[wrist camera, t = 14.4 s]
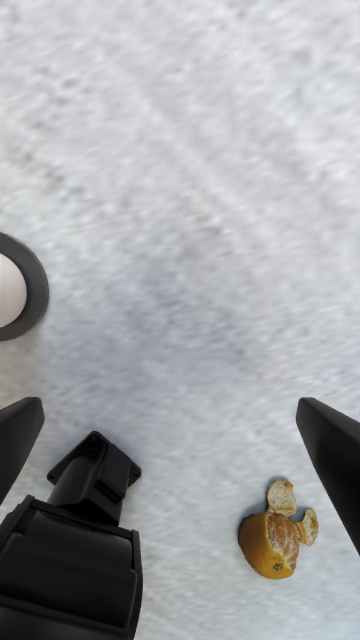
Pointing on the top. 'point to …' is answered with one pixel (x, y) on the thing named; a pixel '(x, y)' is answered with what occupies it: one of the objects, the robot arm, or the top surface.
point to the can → (10, 291)
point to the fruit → (276, 534)
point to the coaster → (34, 287)
